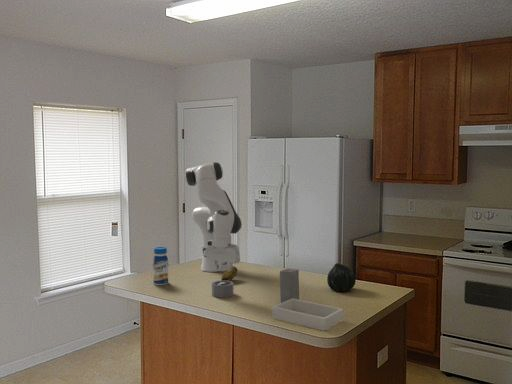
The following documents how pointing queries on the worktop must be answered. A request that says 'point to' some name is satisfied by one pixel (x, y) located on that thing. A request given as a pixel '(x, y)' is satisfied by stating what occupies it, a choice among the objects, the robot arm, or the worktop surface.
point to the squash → (341, 278)
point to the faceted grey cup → (222, 289)
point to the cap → (222, 283)
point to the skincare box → (289, 284)
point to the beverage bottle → (160, 266)
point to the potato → (229, 274)
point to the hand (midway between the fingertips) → (222, 269)
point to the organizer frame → (286, 314)
